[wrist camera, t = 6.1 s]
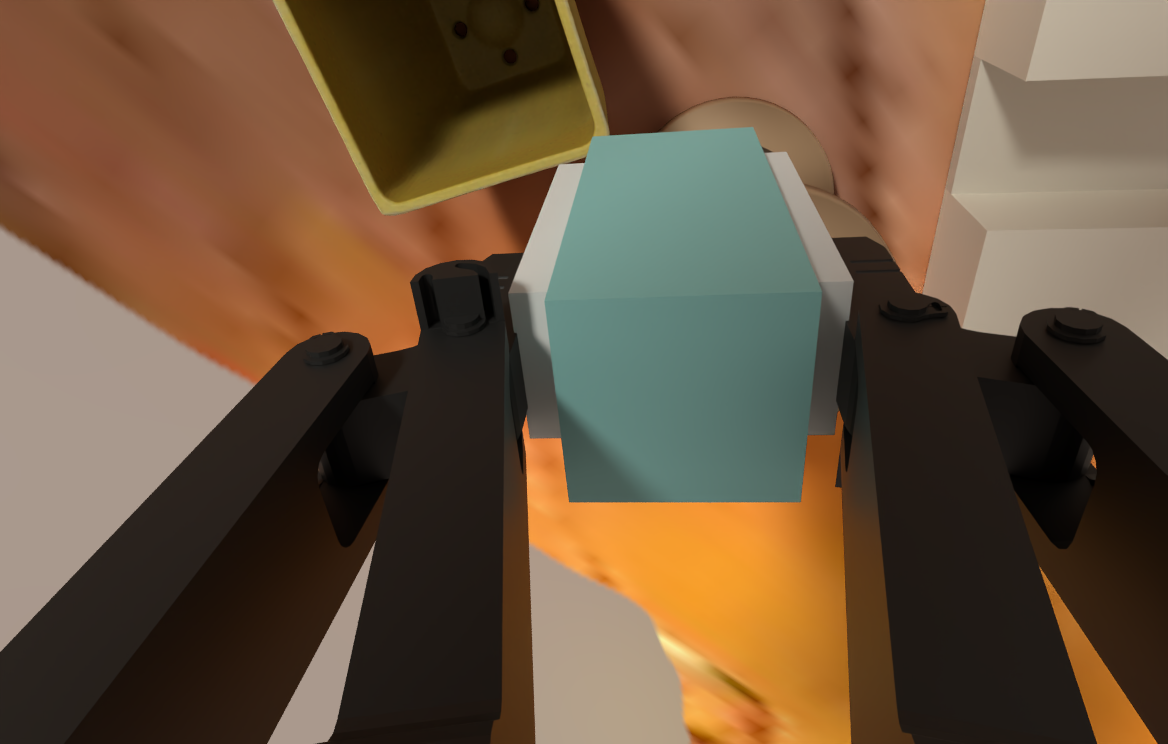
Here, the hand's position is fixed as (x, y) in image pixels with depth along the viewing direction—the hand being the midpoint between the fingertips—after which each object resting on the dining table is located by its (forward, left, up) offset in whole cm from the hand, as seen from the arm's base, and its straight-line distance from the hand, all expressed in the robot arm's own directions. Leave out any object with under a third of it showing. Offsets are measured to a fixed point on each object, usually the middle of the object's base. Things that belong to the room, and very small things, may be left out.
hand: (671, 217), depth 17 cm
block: (0, 0, 0) cm, 0 cm away
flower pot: (-2, -7, -17) cm, 19 cm away
